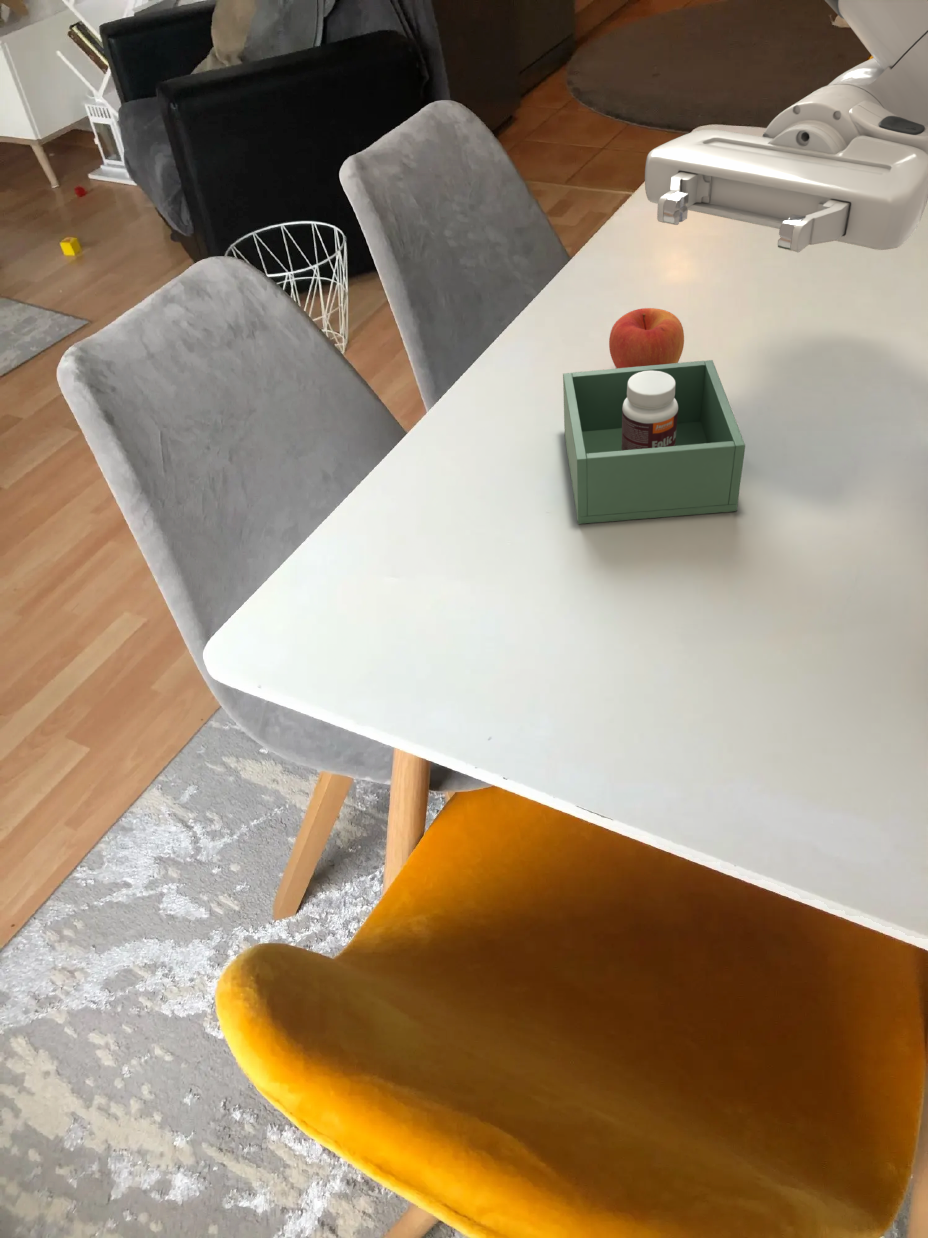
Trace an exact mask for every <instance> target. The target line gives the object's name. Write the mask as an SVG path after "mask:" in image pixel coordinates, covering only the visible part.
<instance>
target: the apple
mask: <svg viewBox="0 0 928 1238" xmlns="http://www.w3.org/2000/svg"><path fill="white" fill-rule="evenodd" d="M608 339H609V340H608V348H609V353H610V357H611V360H612V362H613V365H614V367H615V369H617V368H628V367H639V366H650V365H661V364H672V363H679V361H680V359H681V357H682V354H683V351H684V347H685V331H684V327H683V324H682V322H681V320H680V319H679V318H678V316H676V315H675V314H674V313H672V312H670V311H668V310H665V309H661V308H655V307H644V308H643V307H642V308H637V309H633V310H631V311H629V312H627V313H625V314H623V315H622V316H621V317H620V318H618V319H617V320H616V321H615V323H614V324H613V326H612V328H611V330H610V333H609V338H608Z"/></svg>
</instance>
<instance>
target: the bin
mask: <svg viewBox="0 0 928 1238" xmlns="http://www.w3.org/2000/svg"><path fill="white" fill-rule="evenodd" d="M642 371H661V372H664V373H667V374H669V375H670V376H672V377H673V378H674V380H675V396H674V398H675V399H676V401H677V403H678V418H677V428H676V442H675V446H669V447H657V448H646V449H634V450H622V451H621V449H622V407H623V403H624V401H625V399H626V398H627V384H628V380H629V379H630V377H632V376H633V375H634V374H636V373H639V372H642ZM562 384H563V385H562V386H563V387H562V388H563V391H562V392H563V420H564V421H563V422H564V423H563V425H564V440H565V447H566V454H567V461H568V467H569V472H570V479H571V487H572V493H573V494H572V495H573V498H574V505H575V506H574V507H575V513H576V514H575V515H576V519H577V524H578V525H582V524H595V523H606V522H619V521H631V520H632V521H634V520H643V519H644V520H645V519H657V518H667V517H668V518H669V517H679V516H681V517H682V516H693V515H704V514H705V515H706V514H718V513H729V512H730V513H731V512H737V511H738V503H739V497H740V490H741V481H742V473H743V466H744V459H745V458H744V457H745V451H746V450H745V449H746V444H745V441H744V439H743V436H742V433H741V430H740V427H739V425H738V423H737V421H736V420H737V419H736V418H735V415H734V411H733V409H732V407H731V405H730V401H729V399H728V397H727V394H726V392H725V389H724V387H723V383H722V381H721V378H720V376H719V373H718V371H717V368H716V365H715V363H714V360H713V359H707V360H696V361H684V362H678V363H672V364H661V365H650V366H639V367H628V368H608V369H596V370H586V371H575V372H564V373H562Z"/></svg>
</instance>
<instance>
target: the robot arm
mask: <svg viewBox="0 0 928 1238" xmlns="http://www.w3.org/2000/svg"><path fill="white" fill-rule="evenodd" d="M824 1H825V2H826V3H827V4H828V6H829V7H830V8H831V9H832V10H833V11H834V12H835V14H837V16H839V17H840V18H841V19H843V20H844V21H845V22H846V23H847V25H848V26H849V27H850V28H851V31H853V33H854V34H855V35H856V36H857V38H858V39H859V40H860V42H861V43H862V45H863V46H864V47H865V48H866V50H867V51H868V52H869V54H870V55H871V57H872V58H870V59H868V60H865V61H863V62H861V63H859V64H857V65H855V66H853V67H852V68H849V69H848V70H846V71H844V72H843V73H841V74H840V75H838V76H837V77H835V78H834V79H833V80H832V81H831V82H829V83H828V84H827V85H824V86H822V87H819V88H818V89H816V90H814V91H813V92H812V93H809V94H808V95H807V96H805V97H803V98H802V99H800V100H799V101H797V102H794V104H791V106H789V107H787V108H786V109H783V111H781V112H779V114H778V115H776V116H775V117H774V118H773V119H772V120H771V122H769V124H768V125H767V127H766V128H765V130H764V131H763V134H762V135H761V136H760V135H756V134H755V135H754V134H748V133H740V132H734V131H729V130H721V129H699V130H696V131H691V132H689V133H685V134H683V135H681V136H678V137H676V138H673V139H671V140H669V141H667V142H665V143H663V144H660V145H658V146H657V147H655V148H653V149H652V150H651V151H649V152H648V154H647V156H646V159H645V168H644V190H645V195H646V198H647V200H648V201H649V202H650V203H652V204H657V212H656V219H657V222H659V223H663V224H668V225H674V226H678V225H680V223H682V222H684V221H686V220H687V219H688V212H689V211H691V212H695V213H699V214H704V215H709V216H714V217H718V218H724V219H728V220H732V221H733V220H734V221H738V222H742V223H747V224H753V225H758V226H762V227H767V228H772V229H775V230H779V232H778V235H779V237H780V238H779V239H778V240H777V248H778V249H782V250H786V251H790V252H795V253H800V252H802V251H803V250H804V249H805V248H807V247H808V246H813V245H818V244H826V243H830V242H838V243H843V244H848V245H853V246H858V247H862V248H867V249H871V250H876V251H885V250H888V251H889V250H894V249H898V248H900V247H902V246H903V245H904V244H905V243H906V242H908V240H909V239H910V238H911V237H912V236H913V234H914V233H915V232H916V230H917V228H918V226H919V223H920V221H921V219H922V218H923V214H924V212H925V210H926V206H927V204H928V0H824Z"/></svg>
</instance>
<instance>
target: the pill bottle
mask: <svg viewBox="0 0 928 1238" xmlns="http://www.w3.org/2000/svg"><path fill="white" fill-rule="evenodd" d="M674 396H675V380H674V378H673V377H672V376H670V375H669V374H667V373H664V372H661V371H642V372H639V373H636V374H634V375H633V376H632V377H630V379H629V380H628V384H627V398H626V399H625V401H624V403H623V407H622V449H621V451H622V450H634V449H646V448H657V447H669V446H675V442H676V428H677V418H678V403H677V401H676V399H675V398H674Z"/></svg>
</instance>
